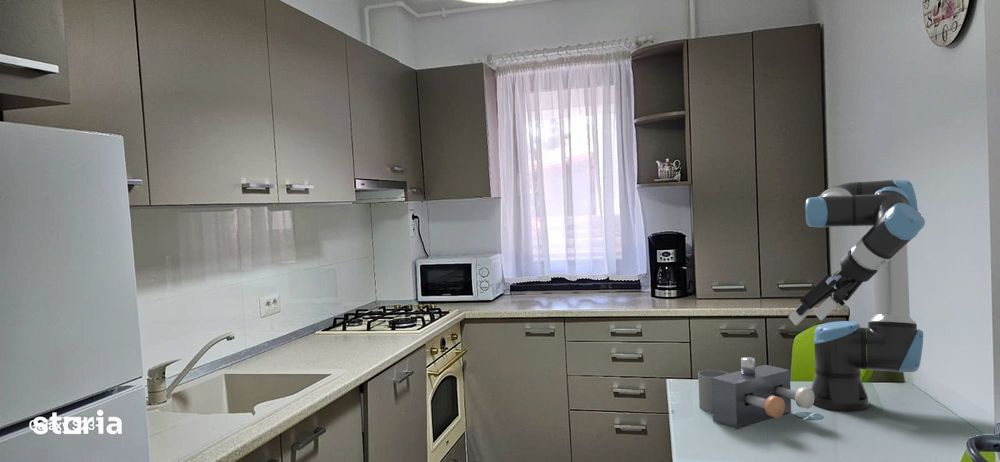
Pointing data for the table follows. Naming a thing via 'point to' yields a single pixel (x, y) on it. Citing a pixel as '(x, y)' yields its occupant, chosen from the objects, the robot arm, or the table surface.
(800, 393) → the knob
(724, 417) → the grey puzzle box
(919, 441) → the table surface
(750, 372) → the dial
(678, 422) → the table surface
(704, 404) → the cup
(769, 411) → the knob
